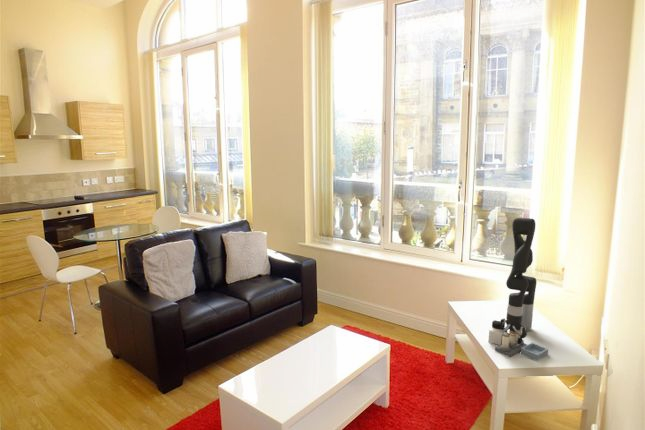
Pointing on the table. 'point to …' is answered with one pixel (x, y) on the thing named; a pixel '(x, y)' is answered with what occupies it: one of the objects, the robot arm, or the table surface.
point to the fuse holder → (509, 346)
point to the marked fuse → (512, 337)
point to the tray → (534, 351)
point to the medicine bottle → (495, 333)
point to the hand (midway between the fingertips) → (512, 340)
